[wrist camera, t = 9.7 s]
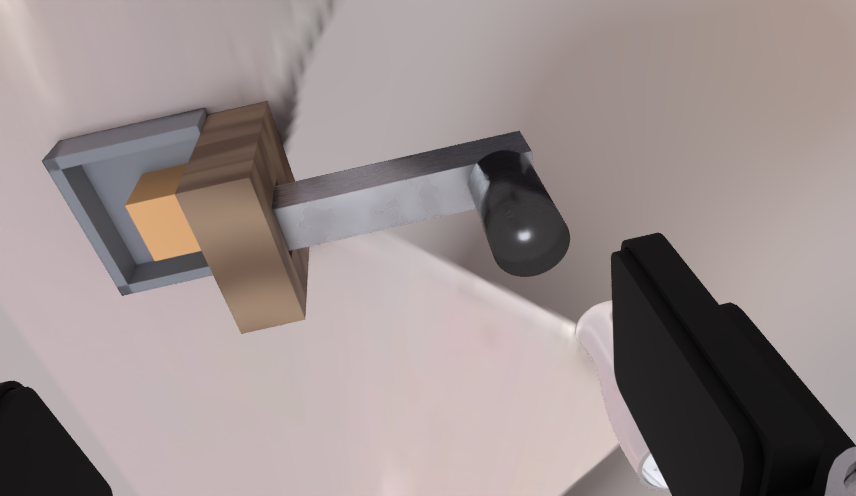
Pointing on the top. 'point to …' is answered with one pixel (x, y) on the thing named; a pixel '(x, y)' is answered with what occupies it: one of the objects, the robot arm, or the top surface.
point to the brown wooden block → (244, 217)
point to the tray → (126, 194)
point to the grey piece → (434, 201)
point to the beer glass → (616, 393)
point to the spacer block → (161, 214)
